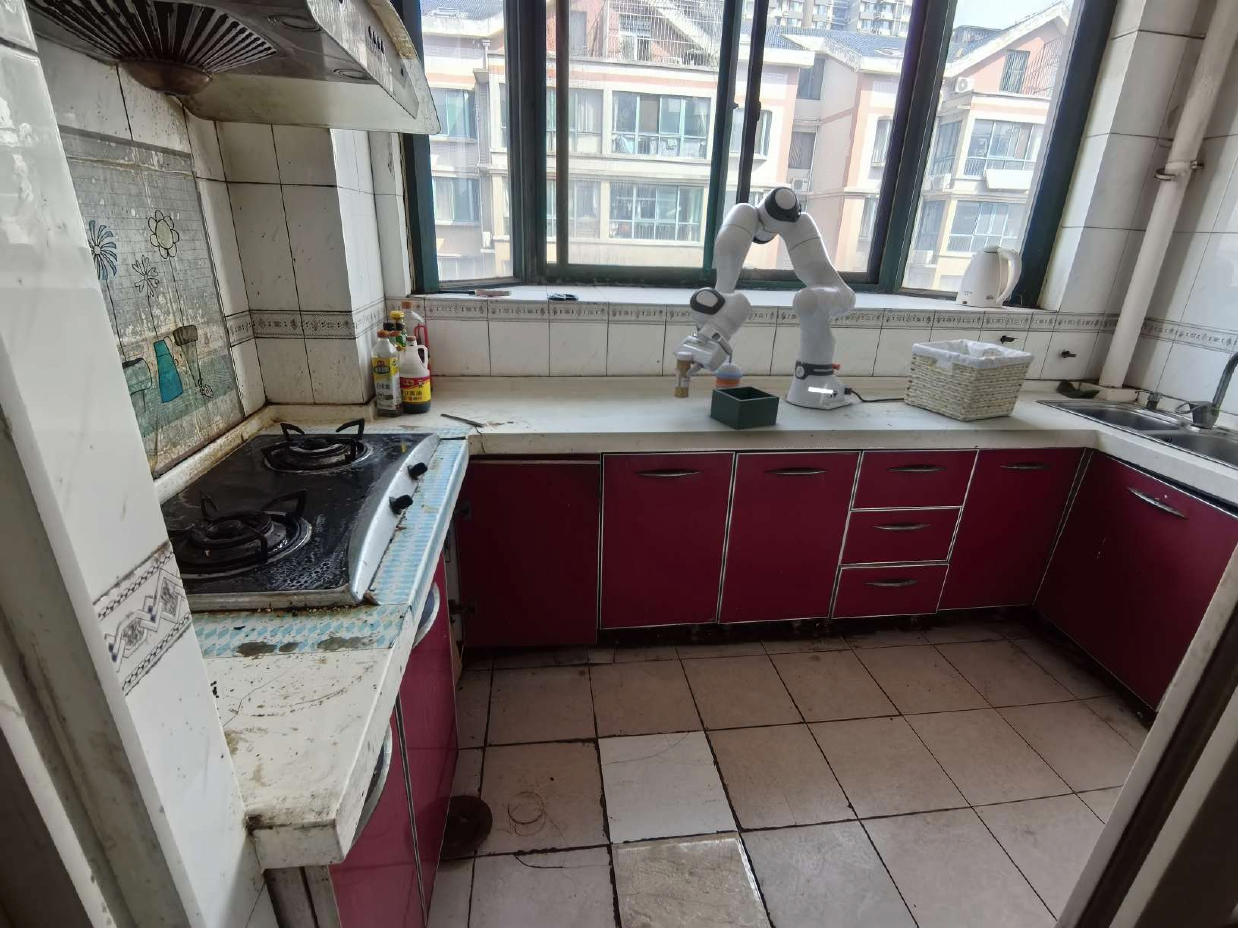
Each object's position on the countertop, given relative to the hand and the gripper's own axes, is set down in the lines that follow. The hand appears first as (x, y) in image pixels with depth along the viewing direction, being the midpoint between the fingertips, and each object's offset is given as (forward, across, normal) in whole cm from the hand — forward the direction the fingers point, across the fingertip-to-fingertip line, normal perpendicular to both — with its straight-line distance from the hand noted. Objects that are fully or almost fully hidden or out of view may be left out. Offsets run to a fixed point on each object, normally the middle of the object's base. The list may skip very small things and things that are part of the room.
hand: (681, 373), depth 178 cm
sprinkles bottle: (+5, 0, +6) cm, 7 cm away
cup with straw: (-7, -6, +26) cm, 27 cm away
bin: (-2, +10, +21) cm, 24 cm away
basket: (-58, +26, +78) cm, 101 cm away
